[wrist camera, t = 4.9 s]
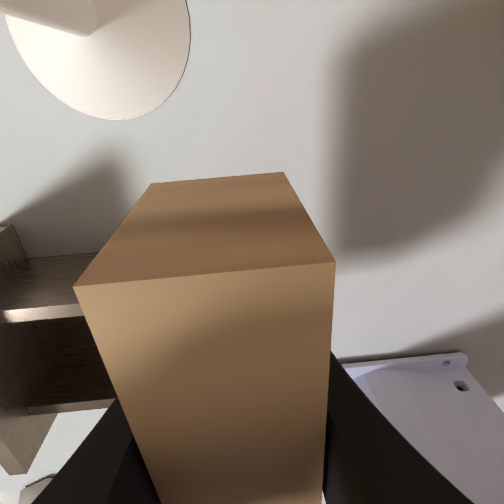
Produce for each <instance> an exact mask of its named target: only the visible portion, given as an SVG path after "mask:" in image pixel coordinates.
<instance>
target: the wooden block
mask: <svg viewBox="0 0 504 504" xmlns="http://www.w3.org/2000/svg"><path fill="white" fill-rule="evenodd" d="M335 266H336V262H335V260H334V258H333V256H332V255H331V253H330V251H329V250H328V248H327V246H326V244H325V243H324V241H323V239H322V238H321V236H320V234H319V232H318V231H317V229H316V227H315V226H314V224H313V222H312V220H311V219H310V217H309V215H308V214H307V212H306V210H305V208H304V207H303V205H302V203H301V202H300V200H299V198H298V196H297V195H296V193H295V191H294V190H293V188H292V186H291V184H290V183H289V181H288V179H287V178H286V176H285V174H284V172H276V173H265V174H253V175H242V176H231V177H220V178H208V179H197V180H186V181H174V182H163V183H152V184H150V186H149V187H148V188H147V190H146V191H145V192H144V194H143V195H142V196H141V198H140V199H139V200H138V202H137V203H136V204H135V206H134V207H133V208H132V209H131V211H130V212H129V213H128V215H127V216H126V217H125V219H124V220H123V221H122V223H121V224H120V225H119V227H118V228H117V229H116V230H115V232H114V233H113V234H112V236H111V237H110V238H109V240H108V241H107V242H106V244H105V245H104V246H103V248H102V249H101V250H100V251H99V253H98V254H97V255H96V257H95V258H94V259H93V261H92V262H91V263H90V265H89V266H88V267H87V269H86V270H85V271H84V272H83V274H82V275H81V276H80V278H79V279H78V280H77V282H76V283H75V284H74V286H73V289H74V291H75V294H76V296H77V299H78V301H79V304H80V306H81V308H82V311H83V313H84V316H85V318H86V321H87V323H88V326H89V328H90V330H91V333H92V335H93V338H94V340H95V343H96V345H97V347H98V350H99V352H100V355H101V357H102V360H103V362H104V365H105V367H106V369H107V372H108V374H109V377H110V379H111V382H112V384H113V386H114V389H115V391H116V394H117V396H118V399H119V401H120V404H121V406H122V408H123V411H124V413H125V416H126V418H127V421H128V423H129V425H130V428H131V430H132V433H133V435H134V438H135V440H136V443H137V445H138V447H139V450H140V452H141V455H142V457H143V460H144V462H145V464H146V467H147V469H148V472H149V474H150V477H151V479H152V482H153V484H154V486H155V489H156V491H157V494H158V496H159V499H160V501H161V503H162V504H321V501H322V484H323V467H324V450H325V434H326V417H327V400H328V383H329V367H330V350H331V333H332V316H333V299H334V283H335Z"/></svg>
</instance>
